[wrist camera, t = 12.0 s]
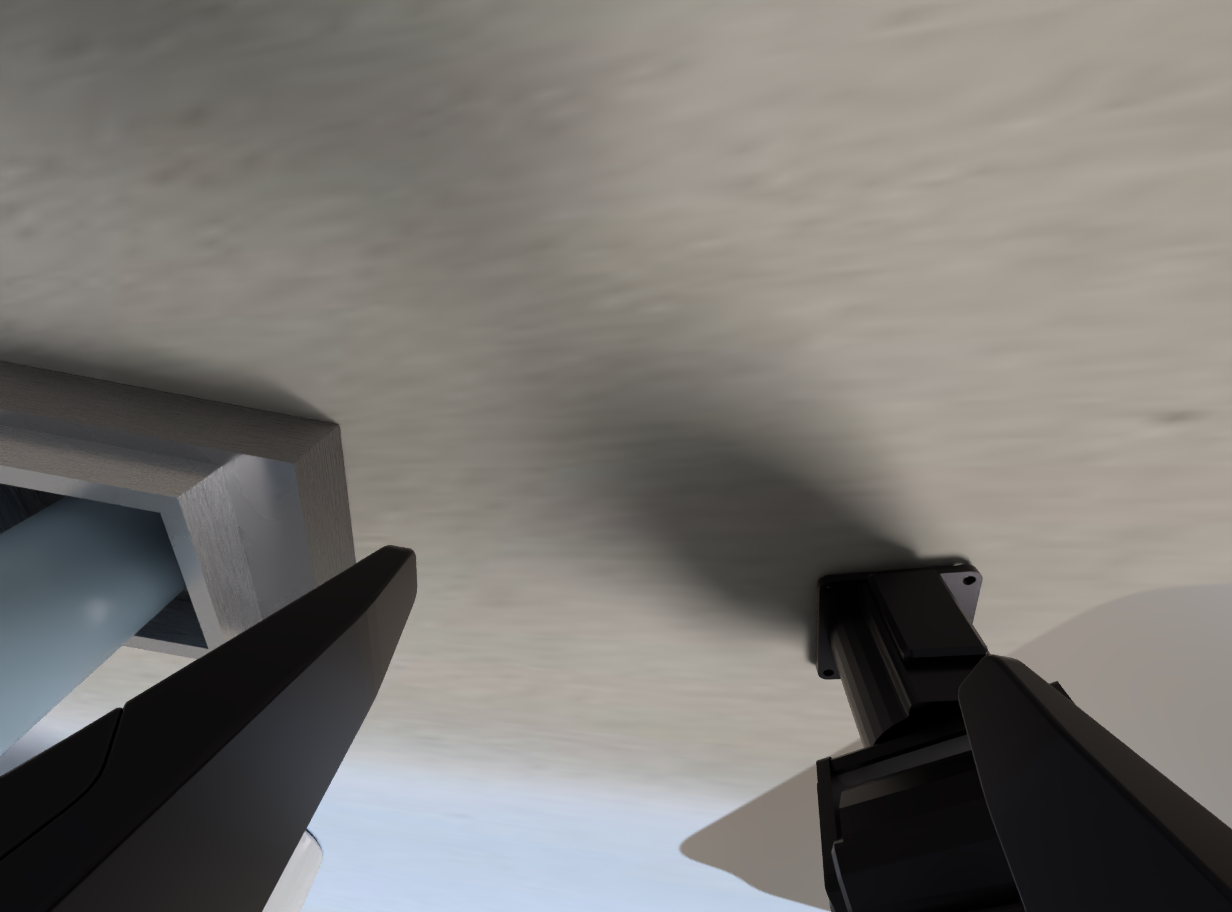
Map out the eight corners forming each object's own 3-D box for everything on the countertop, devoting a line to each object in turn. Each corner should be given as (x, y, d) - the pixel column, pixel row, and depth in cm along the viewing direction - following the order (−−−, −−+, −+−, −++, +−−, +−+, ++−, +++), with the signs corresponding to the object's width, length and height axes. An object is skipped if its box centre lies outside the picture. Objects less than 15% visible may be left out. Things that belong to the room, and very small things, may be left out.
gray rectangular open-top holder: (339, 424, 21) (255, 495, 17) (360, 598, 26) (300, 687, 22) (-10, 359, 21) (-185, 414, 16) (80, 548, 26) (-36, 627, 22)
